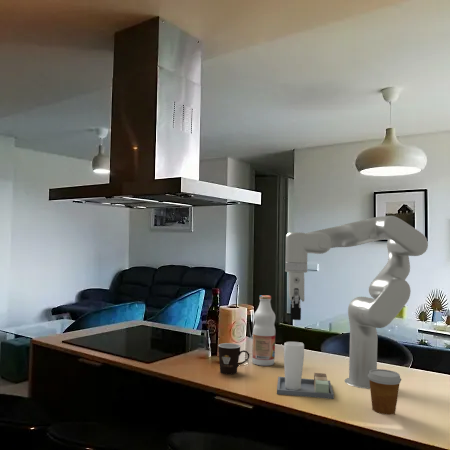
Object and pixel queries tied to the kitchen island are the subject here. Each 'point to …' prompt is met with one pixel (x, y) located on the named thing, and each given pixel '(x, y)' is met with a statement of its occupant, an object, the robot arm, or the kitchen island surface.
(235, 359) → the coffee mug
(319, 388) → the sage painted block
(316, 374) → the walnut block
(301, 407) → the kitchen island surface
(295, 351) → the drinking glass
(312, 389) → the tray
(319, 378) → the beech block
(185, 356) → the kitchen island surface
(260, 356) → the fruit juice
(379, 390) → the disposable coffee cup
